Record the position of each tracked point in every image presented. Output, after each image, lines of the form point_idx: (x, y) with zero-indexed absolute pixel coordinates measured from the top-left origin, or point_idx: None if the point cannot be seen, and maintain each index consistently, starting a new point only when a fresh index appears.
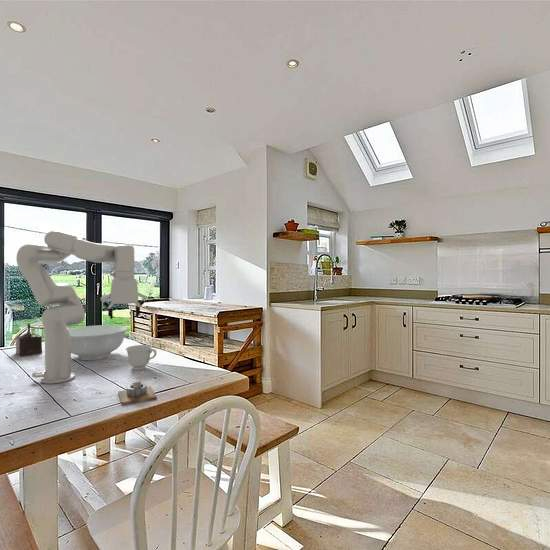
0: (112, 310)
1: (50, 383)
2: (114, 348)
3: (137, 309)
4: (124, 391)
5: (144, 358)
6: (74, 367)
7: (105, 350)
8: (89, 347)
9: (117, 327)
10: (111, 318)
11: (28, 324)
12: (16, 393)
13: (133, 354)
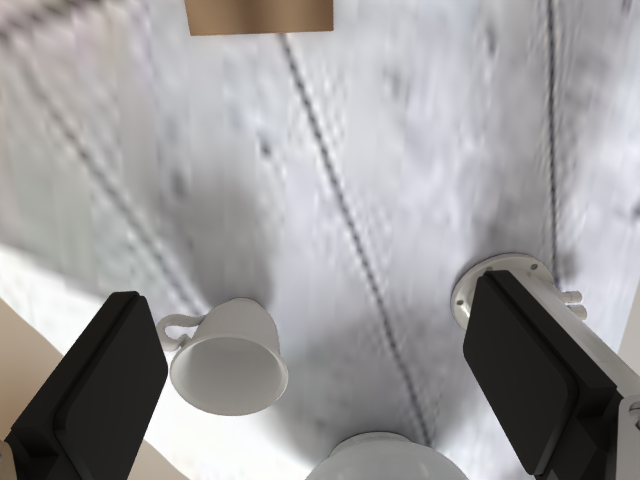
0: (552, 364)
1: (530, 256)
2: (321, 464)
3: (58, 387)
4: (307, 15)
5: (213, 318)
6: (438, 385)
7: (351, 450)
8: (408, 457)
9: None
10: (493, 272)
11: None
12: (630, 205)
13: (257, 333)
